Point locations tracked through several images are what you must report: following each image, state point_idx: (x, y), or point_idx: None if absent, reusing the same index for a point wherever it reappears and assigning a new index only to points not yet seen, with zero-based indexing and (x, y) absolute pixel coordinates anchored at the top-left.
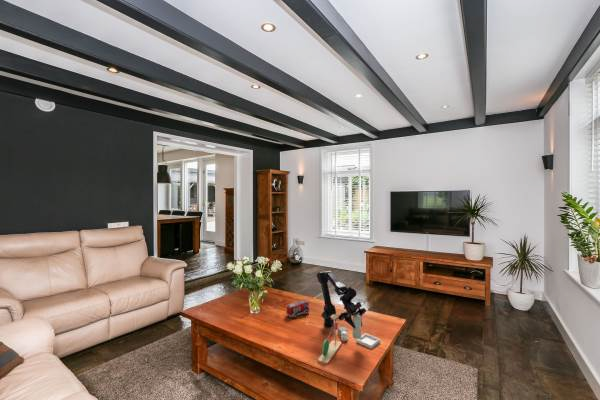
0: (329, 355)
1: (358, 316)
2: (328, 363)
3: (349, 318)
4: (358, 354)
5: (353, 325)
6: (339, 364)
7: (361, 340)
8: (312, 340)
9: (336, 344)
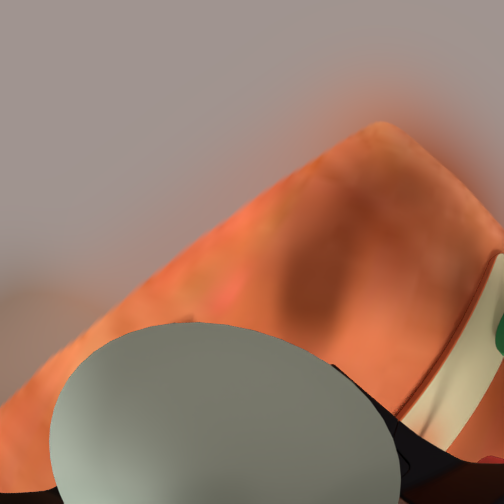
0: (488, 311)
1: (137, 471)
2: (492, 258)
3: (489, 464)
4: (307, 304)
5: (359, 386)
6: (447, 241)
7: None
8: None
9: None
